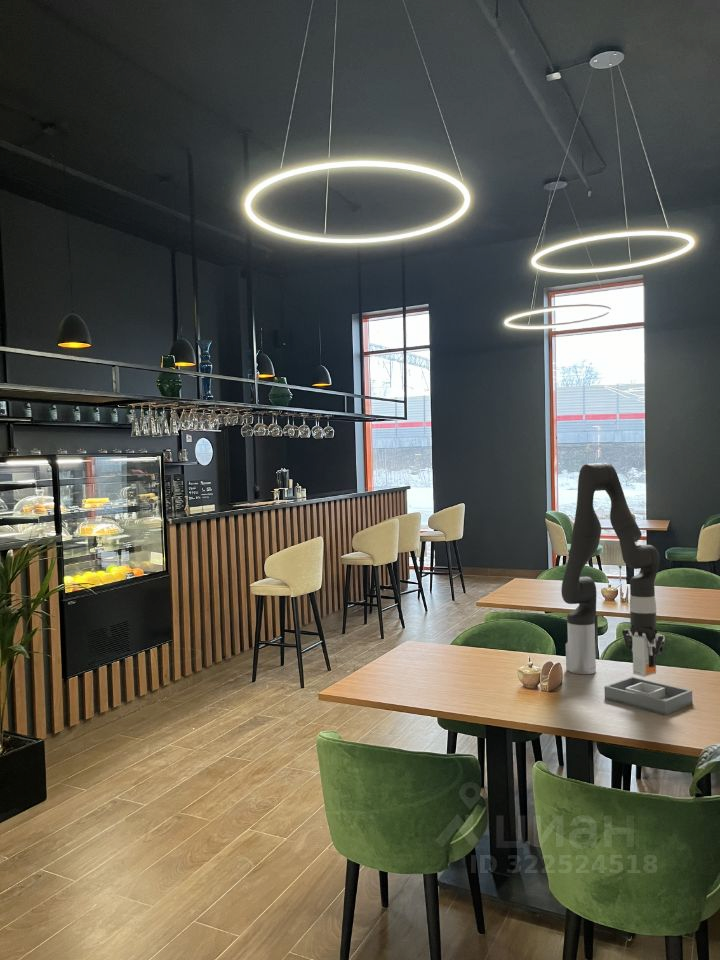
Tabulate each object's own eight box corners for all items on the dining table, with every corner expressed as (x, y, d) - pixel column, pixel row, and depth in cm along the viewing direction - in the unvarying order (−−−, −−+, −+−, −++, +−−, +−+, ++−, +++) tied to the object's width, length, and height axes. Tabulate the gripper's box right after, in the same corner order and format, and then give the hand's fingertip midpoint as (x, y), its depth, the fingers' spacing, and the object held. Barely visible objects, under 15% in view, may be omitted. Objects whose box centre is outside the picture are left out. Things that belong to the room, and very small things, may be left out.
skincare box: (645, 677, 218) (643, 638, 218) (632, 674, 222) (631, 635, 222) (657, 673, 221) (655, 635, 221) (645, 671, 225) (643, 632, 225)
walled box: (604, 699, 222) (604, 686, 222) (632, 689, 231) (632, 676, 231) (665, 715, 206) (665, 701, 206) (692, 703, 215) (692, 690, 215)
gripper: (615, 608, 225) (617, 663, 225) (657, 614, 213) (659, 672, 213) (629, 605, 229) (630, 659, 229) (671, 611, 218) (673, 667, 218)
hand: (644, 665), depth 221 cm, fingers closed on skincare box, 4 cm apart
